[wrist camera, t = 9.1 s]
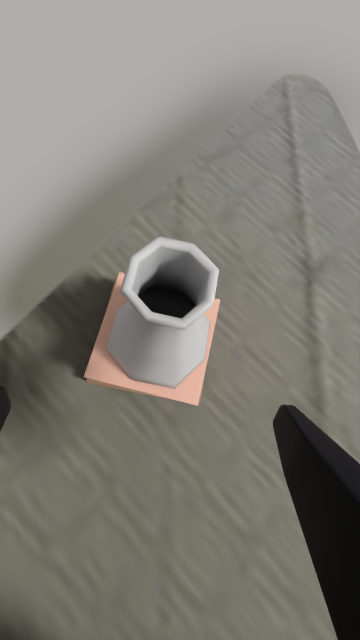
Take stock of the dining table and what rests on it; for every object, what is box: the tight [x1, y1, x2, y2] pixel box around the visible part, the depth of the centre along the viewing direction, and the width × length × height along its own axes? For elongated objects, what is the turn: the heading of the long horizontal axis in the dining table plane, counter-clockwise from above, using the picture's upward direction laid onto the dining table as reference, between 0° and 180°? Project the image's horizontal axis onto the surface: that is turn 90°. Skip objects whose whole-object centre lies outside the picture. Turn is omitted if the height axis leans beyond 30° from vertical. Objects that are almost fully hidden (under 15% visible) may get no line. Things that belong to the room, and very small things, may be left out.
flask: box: [106, 236, 219, 389], centre depth 13 cm, size 7×7×10 cm
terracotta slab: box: [84, 272, 220, 406], centre depth 19 cm, size 8×8×2 cm
